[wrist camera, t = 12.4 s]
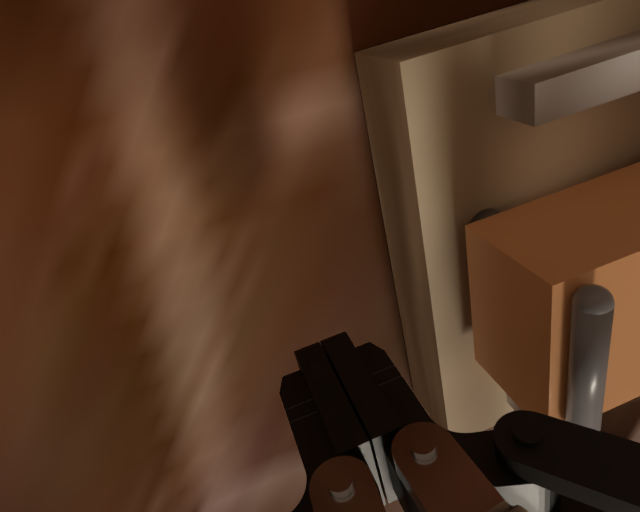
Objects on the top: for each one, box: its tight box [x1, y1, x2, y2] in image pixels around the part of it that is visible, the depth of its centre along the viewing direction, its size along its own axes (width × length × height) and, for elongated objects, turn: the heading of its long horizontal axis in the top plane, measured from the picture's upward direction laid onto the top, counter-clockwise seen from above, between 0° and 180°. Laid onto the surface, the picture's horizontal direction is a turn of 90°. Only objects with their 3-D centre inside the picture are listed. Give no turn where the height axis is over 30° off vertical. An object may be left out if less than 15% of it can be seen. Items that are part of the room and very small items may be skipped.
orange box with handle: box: [465, 162, 640, 431], centre depth 14 cm, size 8×5×5 cm, turn 102°
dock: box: [354, 0, 640, 433], centre depth 16 cm, size 15×14×6 cm
